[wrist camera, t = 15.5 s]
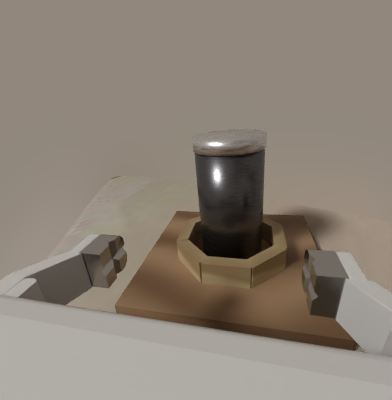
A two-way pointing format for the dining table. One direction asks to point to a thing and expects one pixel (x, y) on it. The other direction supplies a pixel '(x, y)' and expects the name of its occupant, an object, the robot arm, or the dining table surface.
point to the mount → (232, 284)
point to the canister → (231, 191)
